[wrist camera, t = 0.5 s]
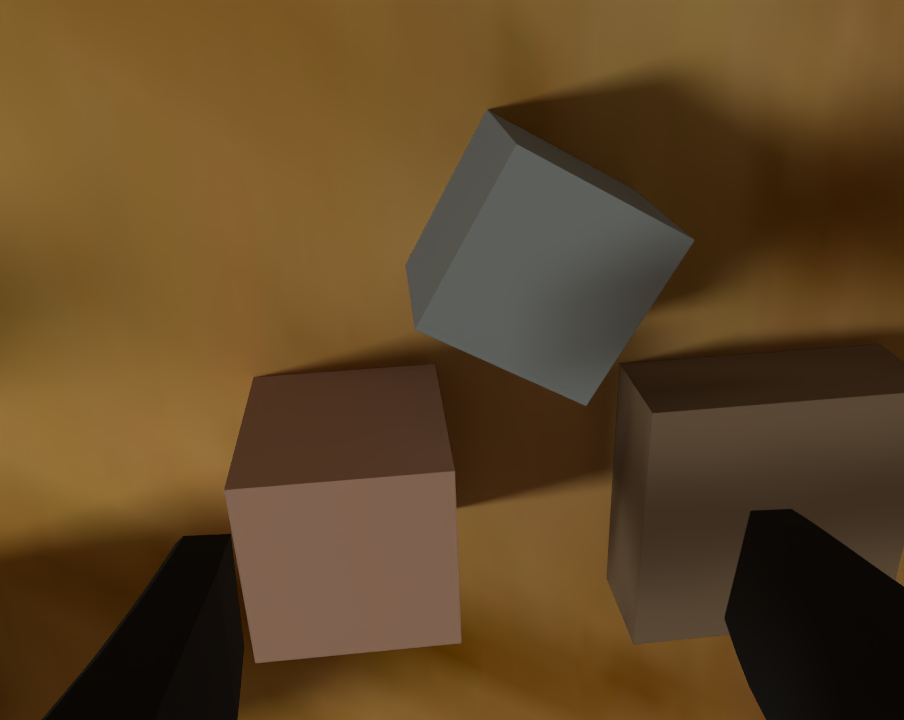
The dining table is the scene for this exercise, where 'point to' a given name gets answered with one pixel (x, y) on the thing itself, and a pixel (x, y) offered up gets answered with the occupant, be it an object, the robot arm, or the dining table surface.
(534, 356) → the slate cube
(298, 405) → the terracotta cube
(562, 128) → the dining table surface
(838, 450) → the walnut slab
